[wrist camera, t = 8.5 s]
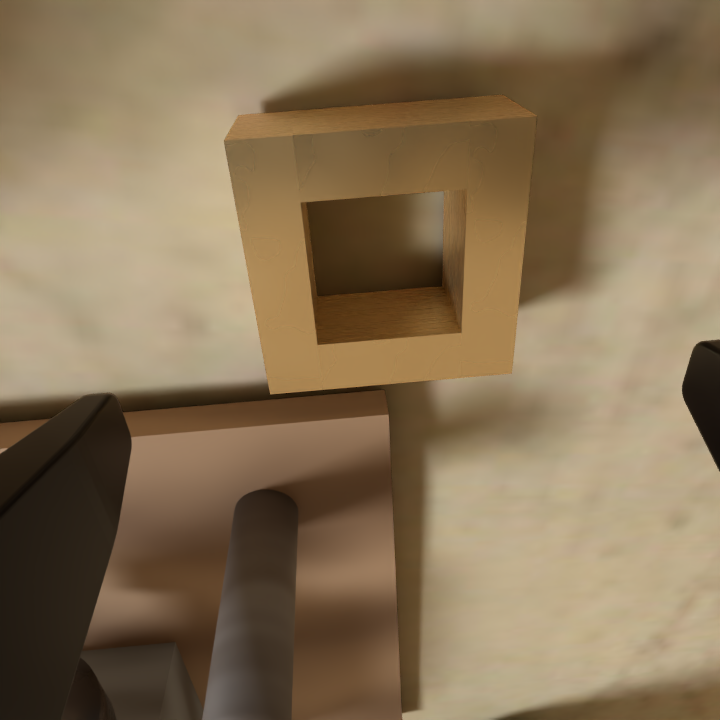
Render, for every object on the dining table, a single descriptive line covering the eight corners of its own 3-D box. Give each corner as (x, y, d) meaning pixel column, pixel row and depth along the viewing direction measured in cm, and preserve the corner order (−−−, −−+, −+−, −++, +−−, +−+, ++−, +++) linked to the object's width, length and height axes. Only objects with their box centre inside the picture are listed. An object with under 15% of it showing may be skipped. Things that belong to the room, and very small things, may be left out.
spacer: (238, 115, 13) (223, 140, 11) (502, 94, 13) (537, 116, 11) (275, 341, 16) (270, 394, 14) (487, 323, 17) (512, 373, 14)
